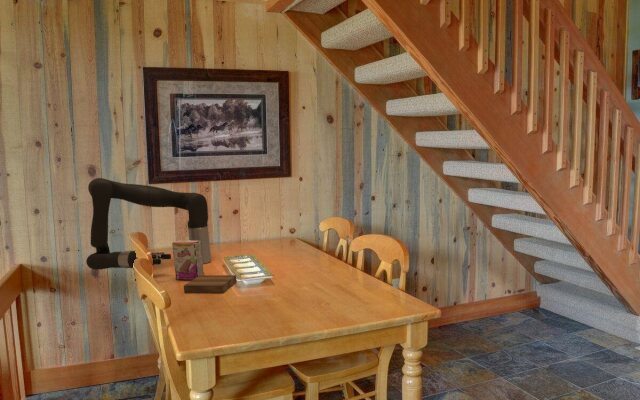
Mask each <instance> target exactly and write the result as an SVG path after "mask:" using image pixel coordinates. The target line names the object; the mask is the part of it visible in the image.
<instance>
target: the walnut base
mask: <svg viewBox="0 0 640 400" xmlns="http://www.w3.org/2000/svg"><path fill="white" fill-rule="evenodd" d="M235 284H237V275H236V274H234V275H232V274H231V275H229V274H227V275H223V274H222V275H218V274H217V275H216V274H215V275H214V274H211V275H209V274H208V275H207V274H206V275H205V274H204V275H199V276H198V277H196V278H195V279H193V280H189V282H187V283H185V284H184V285H183V292H184V294H224V293H225V292H227V291H228V290H229V289H231V288H232V287H233V286H234V285H235Z"/></svg>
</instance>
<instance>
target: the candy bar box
mask: <svg viewBox="0 0 640 400" xmlns="http://www.w3.org/2000/svg"><path fill="white" fill-rule="evenodd" d="M171 245H172V254H173V263H174V271H175V280H176V281H192V280H193V279H195V278H196V277H198V276H199V275H205V273H204V264H203V262H202V252H201V241H191V240H189V239H188V240H187V239H186V240H184V239H183V240H182V239H181V240H179V239H178V240H175V241H173V242H172V244H171Z"/></svg>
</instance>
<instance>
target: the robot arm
mask: <svg viewBox="0 0 640 400" xmlns="http://www.w3.org/2000/svg"><path fill="white" fill-rule="evenodd" d="M87 189H88V192H89V194H90V196H91V200H92V218H91V219H92V220H91V226H90V245H91V247H93V248H94V249H95V250H96V252H93V253H91V254H90V255H88V256H87V258H86V266H87V267H88V268H90V269H91V270H96V271H97V270H98V271H99V270H106V269H134V268H133V263H134V260H135V259H136V253H135V251H136V250H126V251H113V252H111V251H110V246H109V211H110V205H111V202H112V201H111V199H113V200H114V199H116V200H122V201H125V202H129V203H132V204H135V205H139V206H144V207H150V208H151V207H152V208H175V209H176V208H177V209H180V210H184V211H188V221H187V233H188V240H191V241H201V252H202V262H203V265H204V264H208V263H210V262H212V256H211V254H212V253H211V243H210V236H209V235H210V234H209V224H208V222H209V209H208V208H209V207H208V200H207V199H206V197H205V196H204V195H203V194H201V193H197V192H181V191H173V190H170V189H167V188H163V187H157V186H153V185H145V184H137V183H135V184H134V183H123V182H119V181H114V180H110V179H106V178H103V177H97V178H94V179H92V180H91V181H90V182H89V184H88V186H87ZM150 254H151V255H152V258H153V264H152V266H153V265H154V266H155V265H161V264H162V260H171V259H172V255H171V254H170V253H165V252H163V251H162V252H151V253H150Z"/></svg>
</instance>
